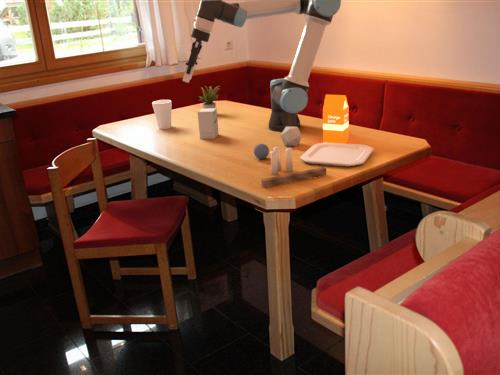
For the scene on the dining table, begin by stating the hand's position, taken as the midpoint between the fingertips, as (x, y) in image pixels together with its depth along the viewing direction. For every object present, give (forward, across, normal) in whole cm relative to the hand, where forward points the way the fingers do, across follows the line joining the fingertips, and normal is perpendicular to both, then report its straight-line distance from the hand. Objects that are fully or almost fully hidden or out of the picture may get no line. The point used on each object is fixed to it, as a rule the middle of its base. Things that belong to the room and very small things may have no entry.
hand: (186, 80), depth 220 cm
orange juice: (+4, +7, +68) cm, 68 cm away
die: (+11, +8, +50) cm, 52 cm away
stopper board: (+15, +50, +47) cm, 71 cm away
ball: (+14, +23, +37) cm, 46 cm away
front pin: (+16, +37, +43) cm, 59 cm away
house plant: (+20, -59, +16) cm, 64 cm away
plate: (+7, +27, +65) cm, 71 cm away
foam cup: (+31, -39, -5) cm, 50 cm away
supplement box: (+23, -15, +17) cm, 32 cm away
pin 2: (+15, +40, +47) cm, 63 cm away
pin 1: (+17, +42, +42) cm, 61 cm away
